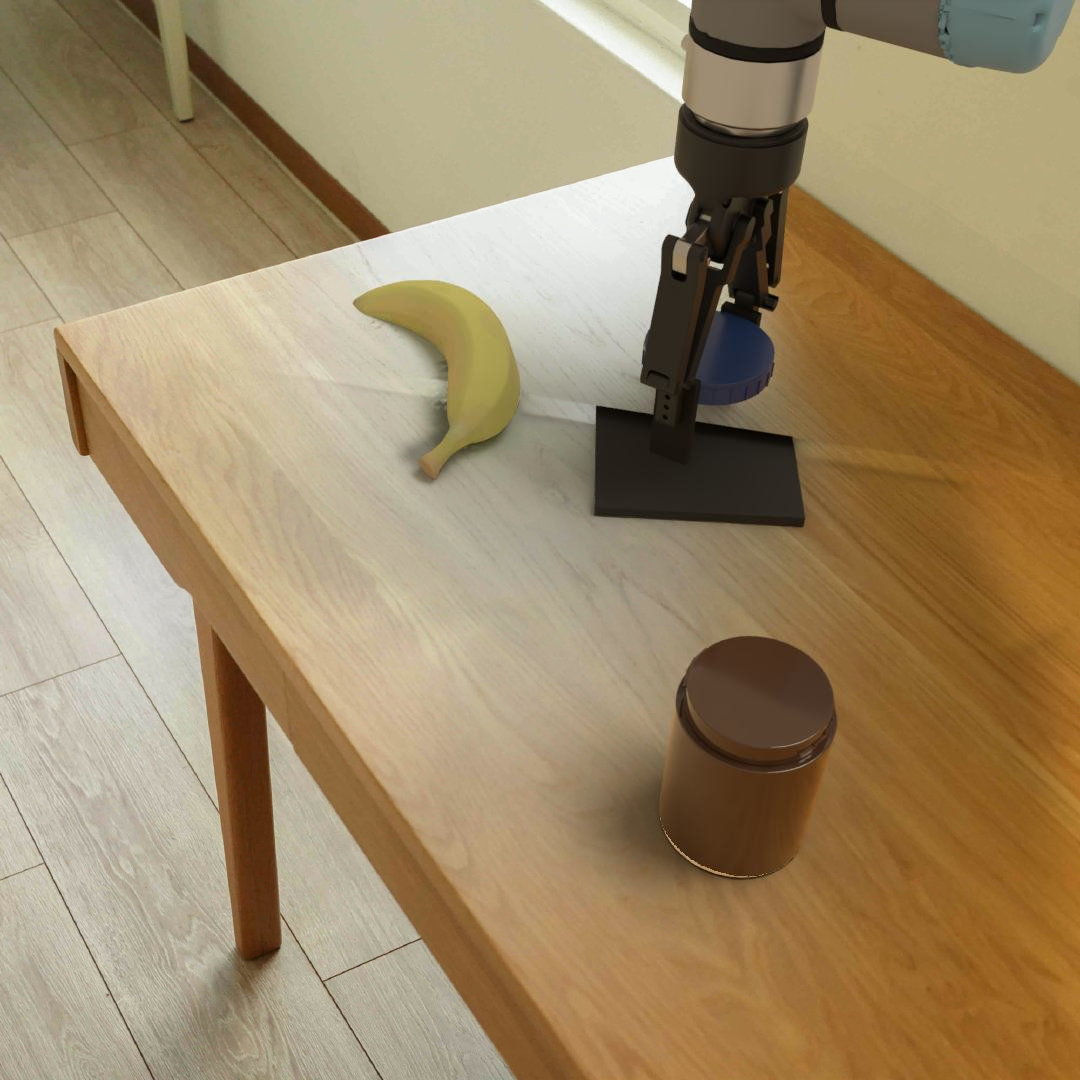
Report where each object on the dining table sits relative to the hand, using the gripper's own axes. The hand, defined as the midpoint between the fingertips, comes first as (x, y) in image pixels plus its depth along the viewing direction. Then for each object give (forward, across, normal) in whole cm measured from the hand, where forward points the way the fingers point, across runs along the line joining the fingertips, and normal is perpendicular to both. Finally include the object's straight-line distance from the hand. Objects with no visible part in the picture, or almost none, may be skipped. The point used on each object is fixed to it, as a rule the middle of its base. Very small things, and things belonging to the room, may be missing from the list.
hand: (700, 419), depth 93 cm
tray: (+3, 0, 0) cm, 3 cm away
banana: (+3, +5, -20) cm, 20 cm away
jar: (+3, +26, +16) cm, 31 cm away
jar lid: (-6, 0, 0) cm, 6 cm away
